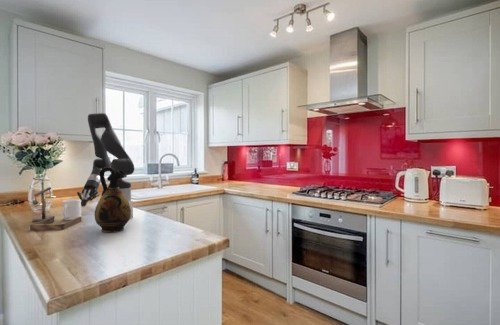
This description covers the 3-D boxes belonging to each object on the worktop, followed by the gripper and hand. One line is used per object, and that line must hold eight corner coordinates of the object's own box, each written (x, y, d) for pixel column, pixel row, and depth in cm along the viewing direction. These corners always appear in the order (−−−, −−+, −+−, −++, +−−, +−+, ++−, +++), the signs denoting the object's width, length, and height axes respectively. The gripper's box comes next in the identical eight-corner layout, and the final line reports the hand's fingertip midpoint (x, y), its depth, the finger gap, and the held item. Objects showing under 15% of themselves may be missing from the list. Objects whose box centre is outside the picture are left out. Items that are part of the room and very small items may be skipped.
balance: (59, 216, 151) (58, 186, 151) (38, 223, 135) (37, 190, 134) (48, 216, 151) (47, 186, 150) (26, 223, 135) (25, 190, 134)
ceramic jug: (137, 225, 132) (136, 166, 131) (121, 234, 117) (120, 167, 116) (103, 225, 132) (102, 166, 131) (83, 234, 117) (82, 167, 116)
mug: (71, 222, 138) (70, 202, 138) (55, 222, 138) (54, 203, 137) (84, 216, 150) (83, 198, 150) (69, 216, 150) (68, 198, 149)
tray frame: (81, 221, 140) (81, 216, 140) (63, 229, 125) (62, 224, 125) (52, 221, 139) (52, 217, 139) (30, 230, 124) (30, 224, 124)
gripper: (80, 179, 164) (68, 202, 152) (101, 179, 165) (91, 202, 153) (85, 186, 170) (73, 209, 158) (105, 186, 170) (96, 209, 159)
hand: (82, 205), depth 156 cm, fingers closed
